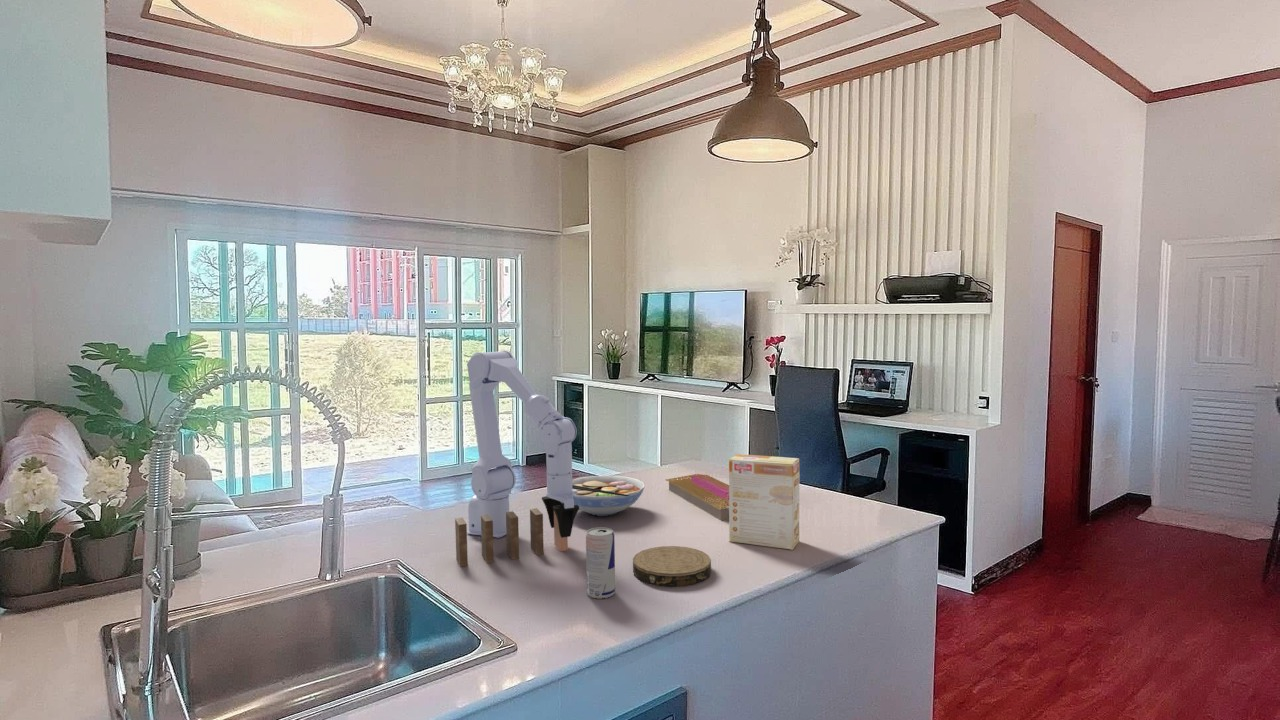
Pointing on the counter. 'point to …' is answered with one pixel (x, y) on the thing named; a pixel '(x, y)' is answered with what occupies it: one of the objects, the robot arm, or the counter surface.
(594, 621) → the counter surface
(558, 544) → the orange tan rectangular block
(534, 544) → the domino
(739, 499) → the coffeecake box
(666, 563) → the wooden tree slice
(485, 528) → the domino
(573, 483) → the ramen bowl
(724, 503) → the brown rectangular box
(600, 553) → the energy drink
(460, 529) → the domino
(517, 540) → the domino
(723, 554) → the counter surface
